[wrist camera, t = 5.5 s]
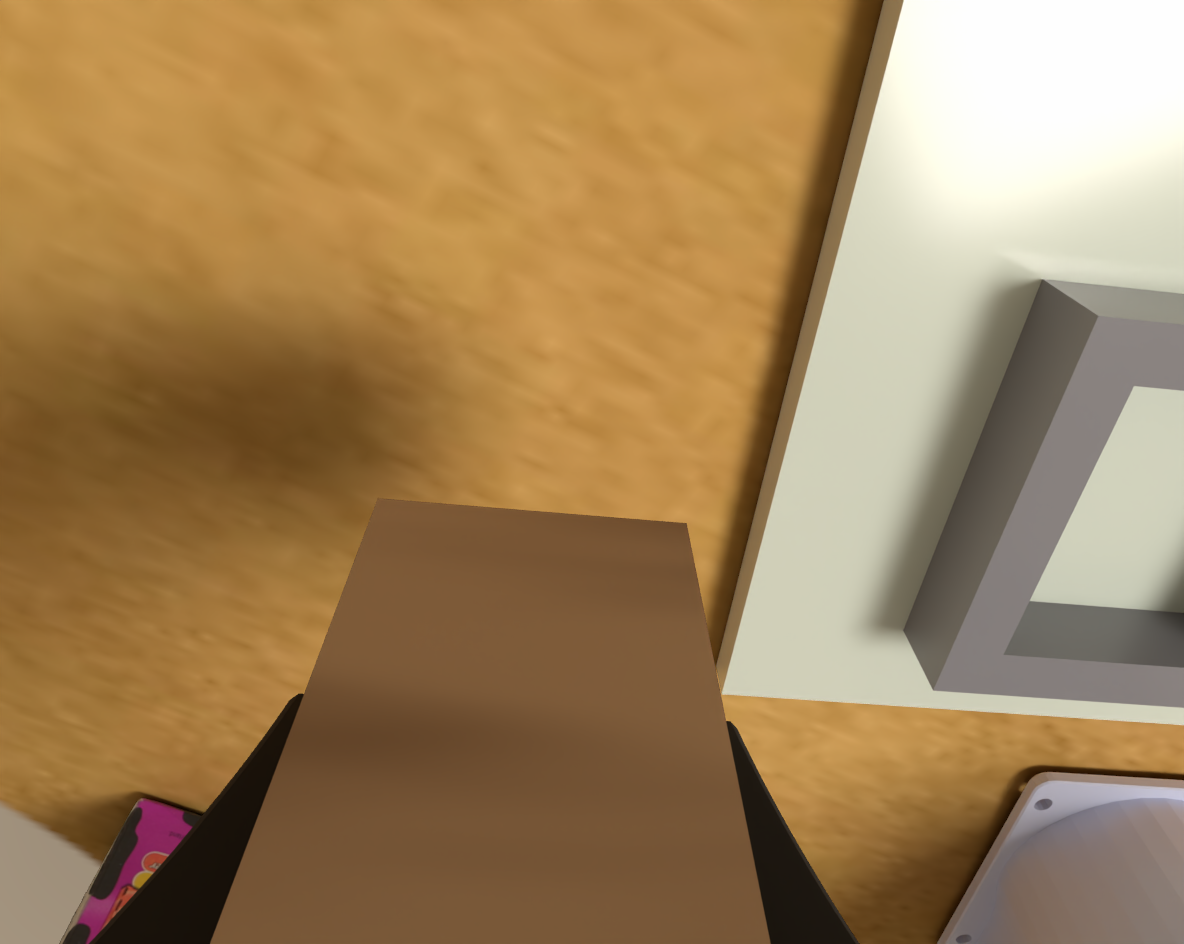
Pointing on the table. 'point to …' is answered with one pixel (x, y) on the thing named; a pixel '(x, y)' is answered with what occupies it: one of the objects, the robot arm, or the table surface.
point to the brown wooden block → (506, 748)
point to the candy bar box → (129, 865)
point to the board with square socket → (988, 381)
